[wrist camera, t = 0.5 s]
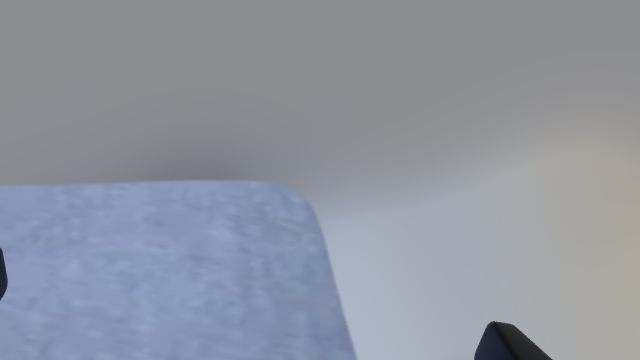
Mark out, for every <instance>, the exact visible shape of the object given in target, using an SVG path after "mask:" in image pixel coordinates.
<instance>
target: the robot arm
mask: <svg viewBox="0 0 640 360" xmlns="http://www.w3.org/2000/svg"><path fill="white" fill-rule="evenodd" d="M7 283H8V279H7V273H6V268H5V262H4V257H3V252H2V249H1V248H0V300H1V298H2V297H3V295H4V293H5V291H6V289H7ZM474 360H552V359H551V358H550V357H549V356H548V355H547V354H545V353H544V352H543V351H542V350H541V349H540V348H539V347H538V346H537V345H535V344H534V343H533V342H532V341H531V340H530V339H529V338H528V337H527V336H525V335H524V334H523V333H522V332H521V331H520V330H519V329H518V328H516V327H515V326H514V325H512V324H508V323H502V322H495V321H493V322H490V323H489V324H488V325H487V327H486V329H485V332H484V334H483V336H482V338H481V340H480V343H479V345H478V348H477V350H476V352H475V357H474Z"/></svg>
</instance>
